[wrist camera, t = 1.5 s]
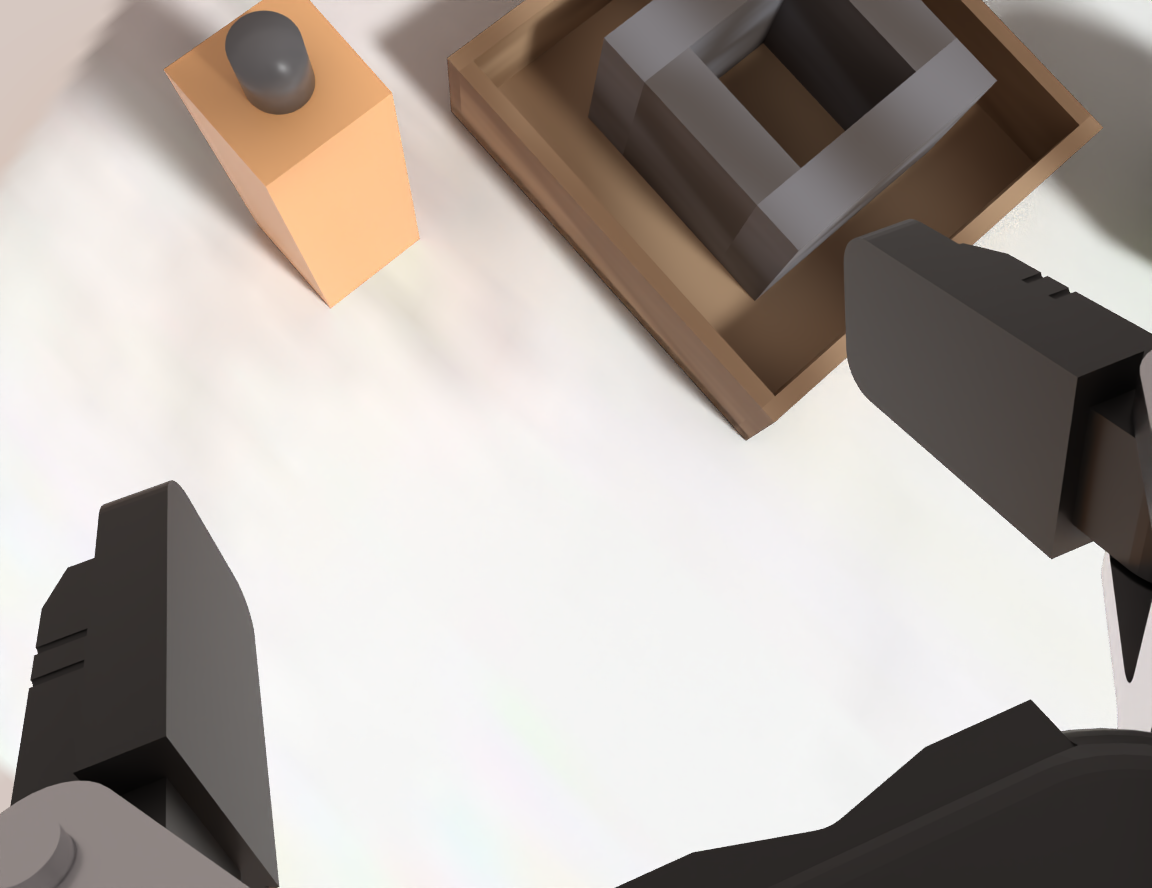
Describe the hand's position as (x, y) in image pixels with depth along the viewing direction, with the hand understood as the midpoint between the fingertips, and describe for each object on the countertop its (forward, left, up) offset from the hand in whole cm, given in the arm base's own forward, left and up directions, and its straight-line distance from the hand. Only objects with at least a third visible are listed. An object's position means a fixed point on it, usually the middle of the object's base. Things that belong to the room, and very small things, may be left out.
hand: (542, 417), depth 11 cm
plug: (-3, -12, -22) cm, 25 cm away
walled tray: (-17, -5, -22) cm, 28 cm away
